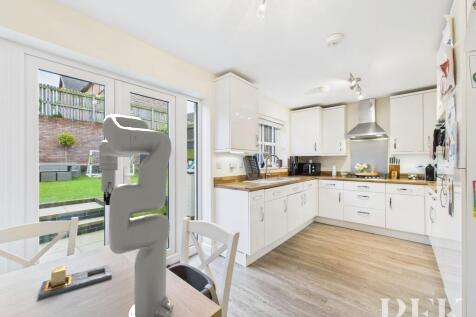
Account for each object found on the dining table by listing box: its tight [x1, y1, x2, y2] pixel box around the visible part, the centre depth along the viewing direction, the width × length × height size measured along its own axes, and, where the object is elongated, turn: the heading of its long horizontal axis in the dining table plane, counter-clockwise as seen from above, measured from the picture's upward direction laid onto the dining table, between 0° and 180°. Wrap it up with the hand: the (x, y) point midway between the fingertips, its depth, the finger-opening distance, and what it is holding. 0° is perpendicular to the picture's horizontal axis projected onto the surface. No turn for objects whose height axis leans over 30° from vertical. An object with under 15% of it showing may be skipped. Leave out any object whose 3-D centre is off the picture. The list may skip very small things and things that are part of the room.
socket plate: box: [38, 264, 113, 300], centre depth 83 cm, size 22×10×2 cm, turn 127°
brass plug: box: [50, 265, 67, 289], centre depth 79 cm, size 4×4×7 cm
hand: (108, 203), depth 99 cm, fingers open, 9 cm apart
